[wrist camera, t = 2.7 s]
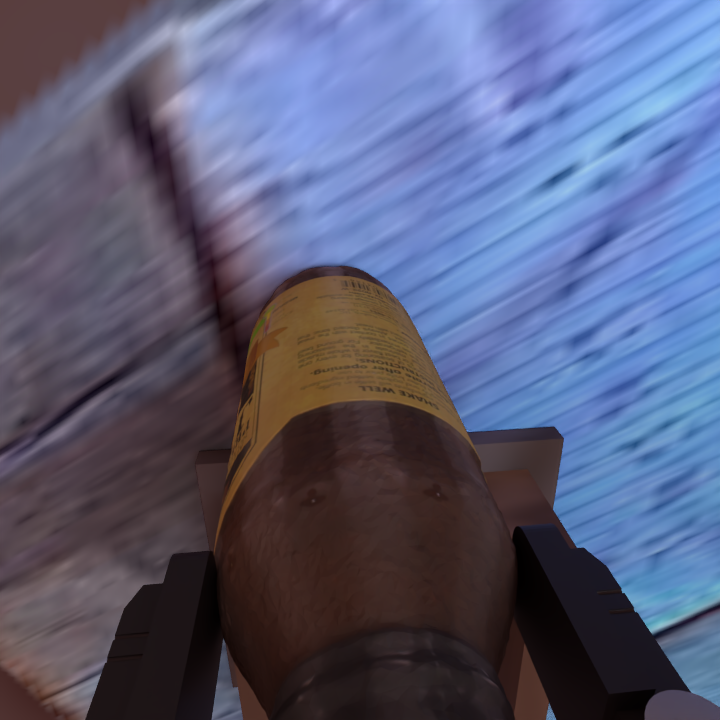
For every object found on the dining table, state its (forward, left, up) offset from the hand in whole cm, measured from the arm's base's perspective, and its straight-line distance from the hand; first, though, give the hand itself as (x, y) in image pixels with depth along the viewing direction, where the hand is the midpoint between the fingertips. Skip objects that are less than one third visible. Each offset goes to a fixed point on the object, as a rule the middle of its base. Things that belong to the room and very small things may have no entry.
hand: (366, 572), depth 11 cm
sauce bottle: (0, 0, -13) cm, 13 cm away
